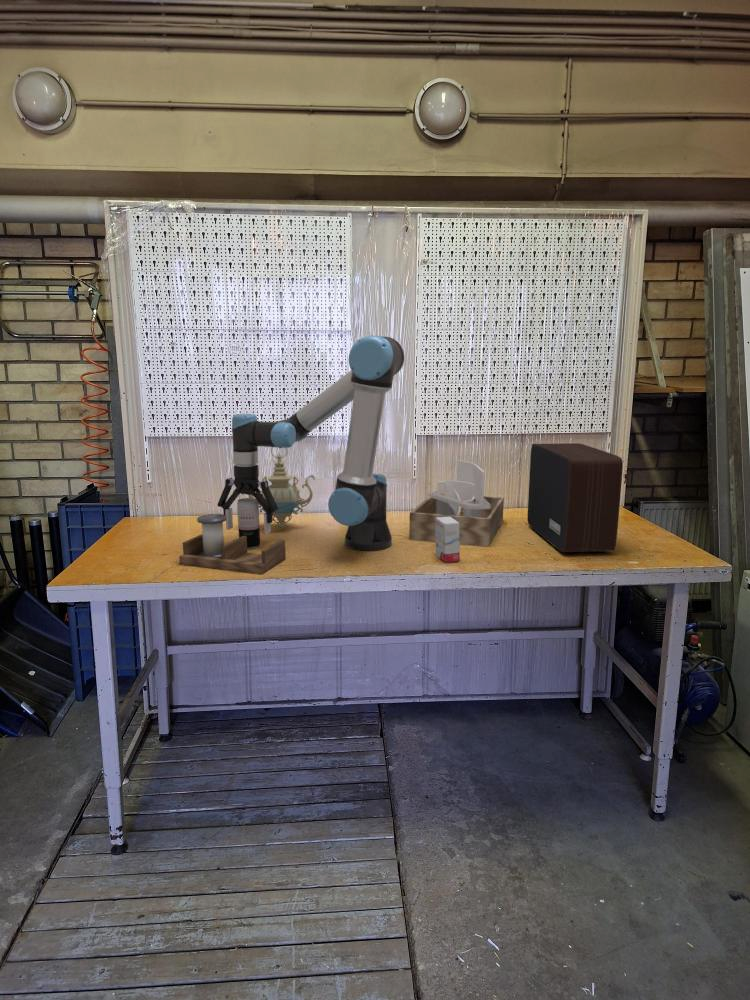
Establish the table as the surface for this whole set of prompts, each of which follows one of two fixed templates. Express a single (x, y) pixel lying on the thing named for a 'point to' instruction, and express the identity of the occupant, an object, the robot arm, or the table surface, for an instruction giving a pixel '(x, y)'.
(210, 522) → the cable reel
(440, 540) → the ink box
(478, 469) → the architectural model
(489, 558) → the table surface
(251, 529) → the beverage can
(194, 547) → the wooden divided tray
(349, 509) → the robot arm
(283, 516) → the ornate lidded vase
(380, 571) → the table surface
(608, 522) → the brown wooden speaker
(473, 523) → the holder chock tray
